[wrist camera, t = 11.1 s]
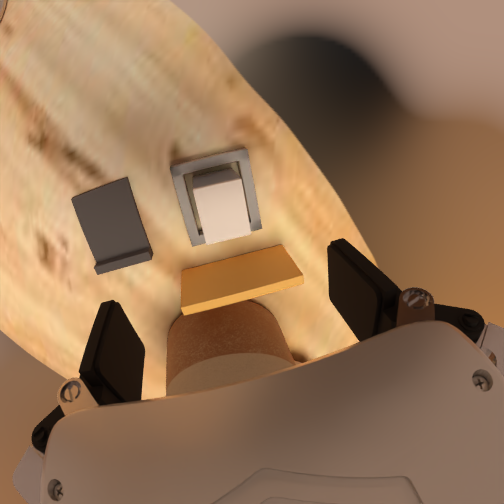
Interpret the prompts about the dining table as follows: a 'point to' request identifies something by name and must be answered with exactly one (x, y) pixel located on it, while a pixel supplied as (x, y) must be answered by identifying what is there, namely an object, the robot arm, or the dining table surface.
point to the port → (236, 268)
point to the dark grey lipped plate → (113, 226)
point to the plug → (221, 205)
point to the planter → (224, 347)
